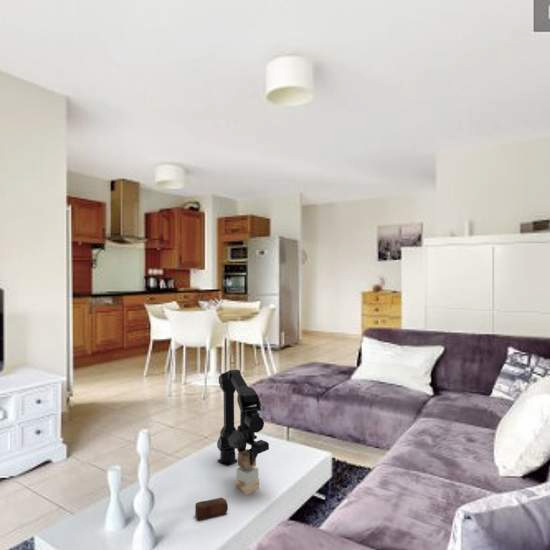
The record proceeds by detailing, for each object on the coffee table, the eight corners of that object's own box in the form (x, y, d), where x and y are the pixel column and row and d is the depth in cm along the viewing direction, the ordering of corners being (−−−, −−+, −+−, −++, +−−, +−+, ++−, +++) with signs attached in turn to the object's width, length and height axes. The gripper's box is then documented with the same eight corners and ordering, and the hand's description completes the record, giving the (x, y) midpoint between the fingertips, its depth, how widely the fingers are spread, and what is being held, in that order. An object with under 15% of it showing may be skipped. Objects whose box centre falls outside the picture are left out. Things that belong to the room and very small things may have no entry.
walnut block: (237, 465, 162) (237, 452, 162) (247, 461, 166) (247, 449, 166) (246, 469, 159) (246, 456, 159) (255, 465, 163) (255, 452, 163)
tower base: (235, 489, 162) (235, 479, 162) (247, 483, 167) (247, 473, 167) (246, 495, 158) (247, 484, 158) (258, 489, 162) (259, 478, 162)
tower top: (236, 478, 162) (236, 468, 162) (247, 473, 167) (247, 463, 167) (247, 484, 158) (247, 473, 158) (258, 478, 163) (258, 468, 163)
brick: (197, 522, 140) (198, 508, 140) (195, 515, 144) (195, 502, 144) (227, 515, 145) (228, 501, 145) (224, 509, 148) (224, 496, 148)
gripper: (216, 422, 163) (215, 462, 163) (249, 435, 150) (248, 478, 150) (237, 415, 171) (236, 453, 171) (270, 427, 158) (269, 468, 158)
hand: (246, 462), depth 162 cm, fingers closed on walnut block, 5 cm apart
